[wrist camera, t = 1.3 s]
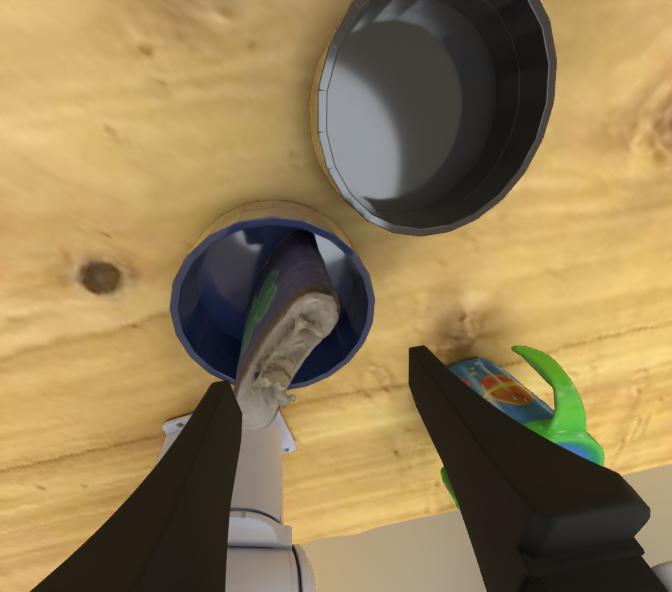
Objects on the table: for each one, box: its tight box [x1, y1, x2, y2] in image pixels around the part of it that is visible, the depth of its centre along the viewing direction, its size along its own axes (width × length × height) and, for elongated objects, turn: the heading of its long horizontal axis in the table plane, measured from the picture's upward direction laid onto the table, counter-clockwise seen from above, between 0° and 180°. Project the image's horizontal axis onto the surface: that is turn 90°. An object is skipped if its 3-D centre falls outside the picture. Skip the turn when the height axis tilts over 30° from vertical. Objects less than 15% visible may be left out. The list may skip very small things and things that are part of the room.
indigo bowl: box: [170, 200, 375, 390], centre depth 21 cm, size 12×12×4 cm
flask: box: [234, 230, 340, 430], centre depth 18 cm, size 9×3×11 cm, turn 150°
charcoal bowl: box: [309, 0, 557, 236], centre depth 18 cm, size 12×12×4 cm
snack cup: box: [441, 346, 605, 509], centre depth 27 cm, size 16×10×10 cm
